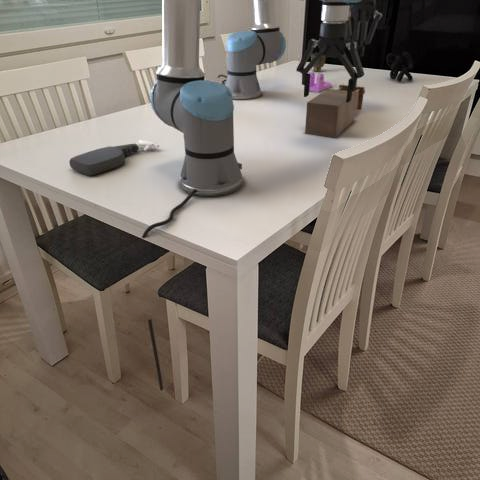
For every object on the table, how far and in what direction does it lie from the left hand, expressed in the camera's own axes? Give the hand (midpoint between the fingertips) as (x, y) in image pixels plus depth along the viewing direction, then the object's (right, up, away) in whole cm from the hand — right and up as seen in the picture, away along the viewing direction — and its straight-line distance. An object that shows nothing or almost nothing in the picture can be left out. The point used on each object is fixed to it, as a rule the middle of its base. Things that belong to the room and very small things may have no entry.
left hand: (326, 98), depth 137 cm
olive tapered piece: (+11, +40, +83) cm, 93 cm away
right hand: (+14, +17, +19) cm, 29 cm away
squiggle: (+45, +29, +64) cm, 83 cm away
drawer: (+10, +2, +20) cm, 23 cm away
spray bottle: (-61, -21, -12) cm, 66 cm away
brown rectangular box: (+3, -6, +9) cm, 12 cm away
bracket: (+7, +21, +53) cm, 58 cm away
